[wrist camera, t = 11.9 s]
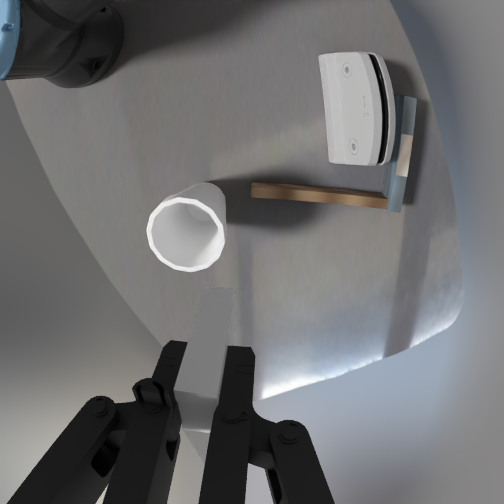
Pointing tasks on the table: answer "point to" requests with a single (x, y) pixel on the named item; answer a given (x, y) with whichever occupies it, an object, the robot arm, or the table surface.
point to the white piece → (358, 108)
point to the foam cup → (189, 228)
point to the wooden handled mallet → (386, 200)
